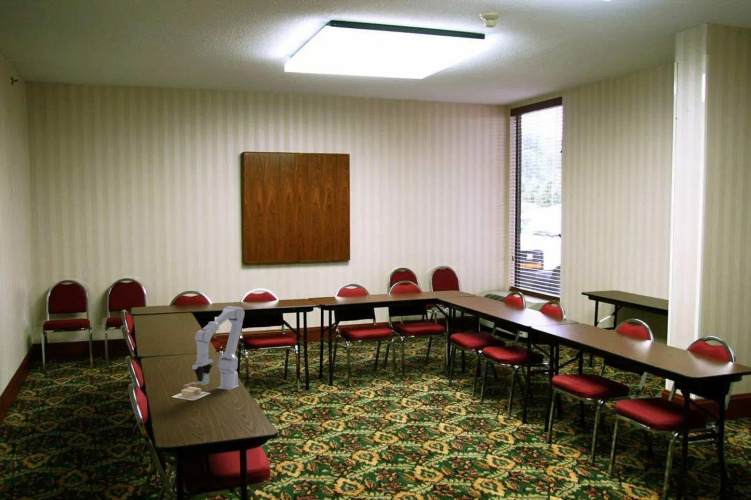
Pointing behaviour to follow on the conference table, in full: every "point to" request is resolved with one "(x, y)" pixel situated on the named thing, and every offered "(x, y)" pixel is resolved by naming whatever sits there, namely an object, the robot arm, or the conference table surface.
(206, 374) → the grey rectangular block
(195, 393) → the maple slab
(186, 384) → the walnut bar
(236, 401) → the conference table surface
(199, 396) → the white square board
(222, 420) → the conference table surface
